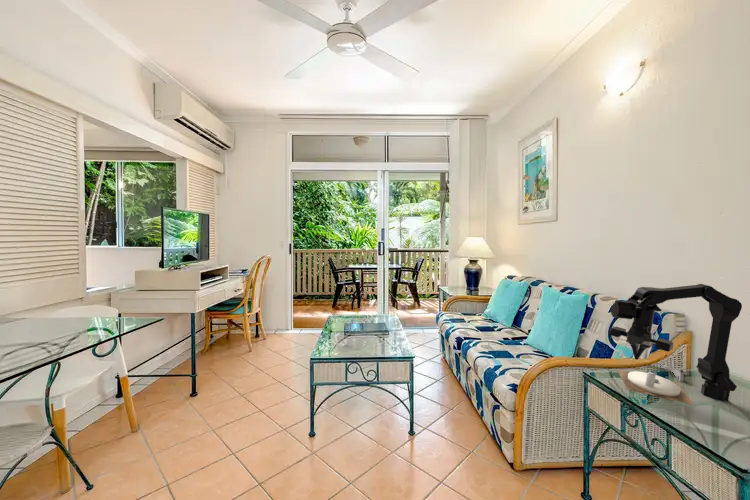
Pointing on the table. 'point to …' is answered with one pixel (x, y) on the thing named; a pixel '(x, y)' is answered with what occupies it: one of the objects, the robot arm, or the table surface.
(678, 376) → the caliper
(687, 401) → the dial base
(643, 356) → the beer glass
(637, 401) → the table surface
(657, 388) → the dial
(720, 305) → the robot arm
